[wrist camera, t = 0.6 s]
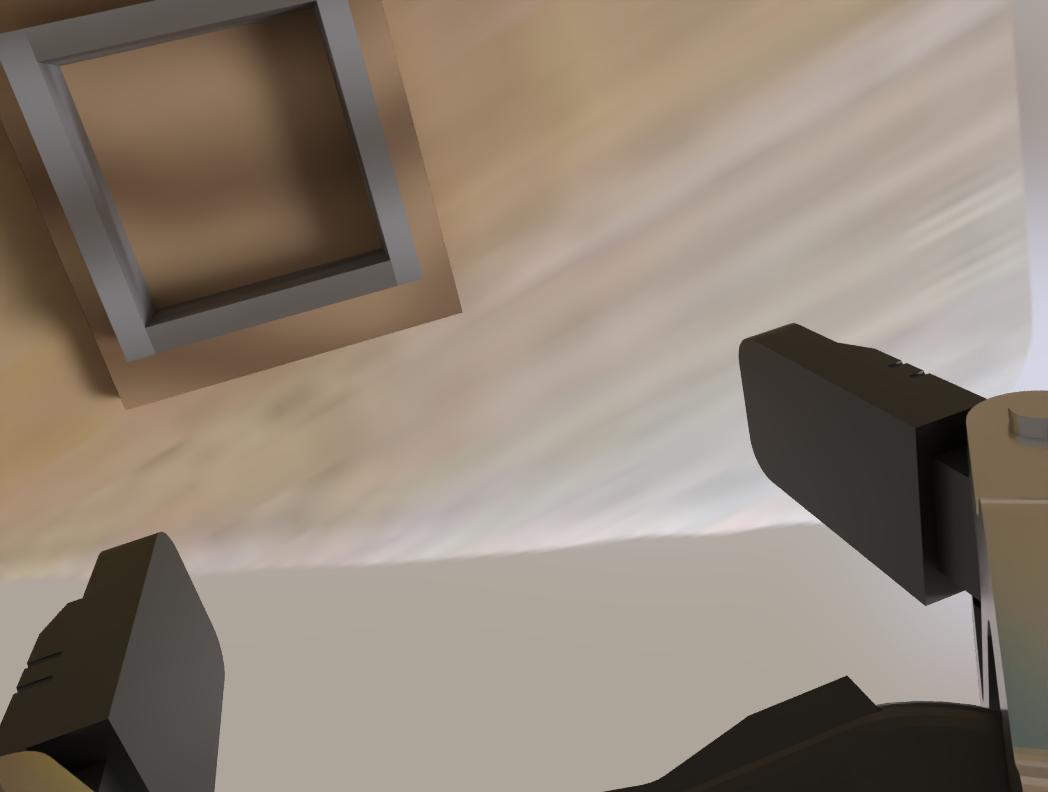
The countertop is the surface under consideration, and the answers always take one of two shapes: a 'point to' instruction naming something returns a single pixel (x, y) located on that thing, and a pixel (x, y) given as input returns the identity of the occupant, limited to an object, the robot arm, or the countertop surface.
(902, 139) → the countertop surface
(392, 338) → the countertop surface
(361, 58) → the caddy
